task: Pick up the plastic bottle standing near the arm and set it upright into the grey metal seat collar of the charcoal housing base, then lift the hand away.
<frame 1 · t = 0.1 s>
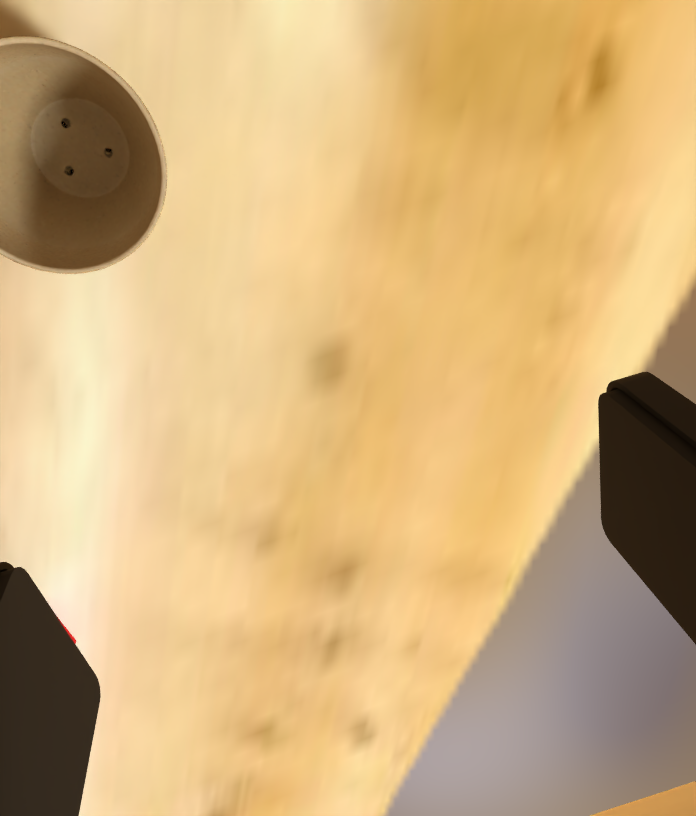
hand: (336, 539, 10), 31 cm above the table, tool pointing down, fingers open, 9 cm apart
flower pot: (82, 148, 35), on the table
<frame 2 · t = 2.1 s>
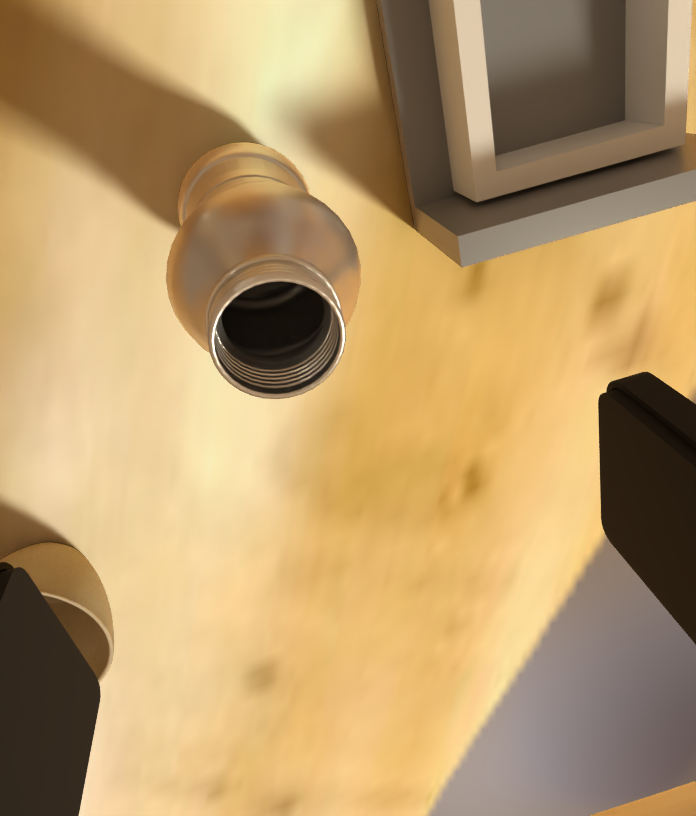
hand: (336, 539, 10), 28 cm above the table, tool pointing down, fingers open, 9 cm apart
flower pot: (50, 568, 43), on the table
housing: (534, 39, 33), on the table
plastic bottle: (244, 200, 34), on the table
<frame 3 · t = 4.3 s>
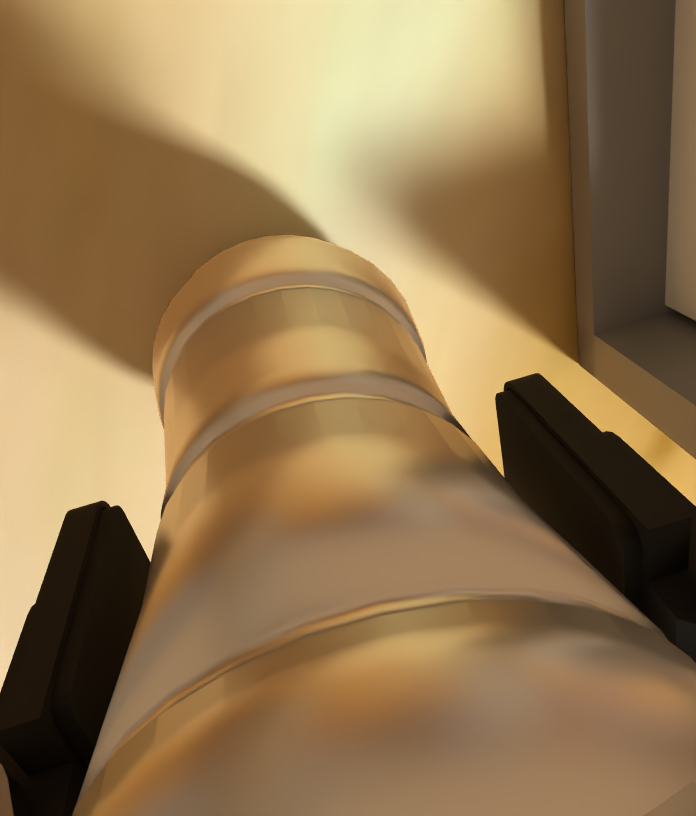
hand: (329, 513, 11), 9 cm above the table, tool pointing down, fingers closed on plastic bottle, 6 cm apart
plastic bottle: (281, 327, 18), on the table, touching gripper
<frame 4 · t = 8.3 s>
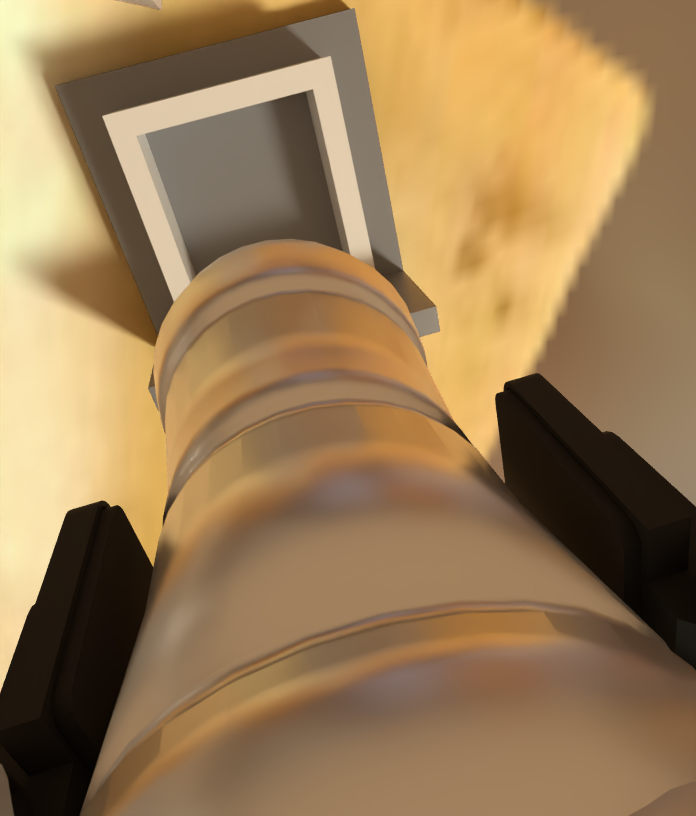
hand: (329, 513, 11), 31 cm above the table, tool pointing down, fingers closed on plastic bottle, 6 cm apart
housing: (251, 198, 37), on the table
plastic bottle: (282, 330, 18), point 22 cm above the table, touching gripper
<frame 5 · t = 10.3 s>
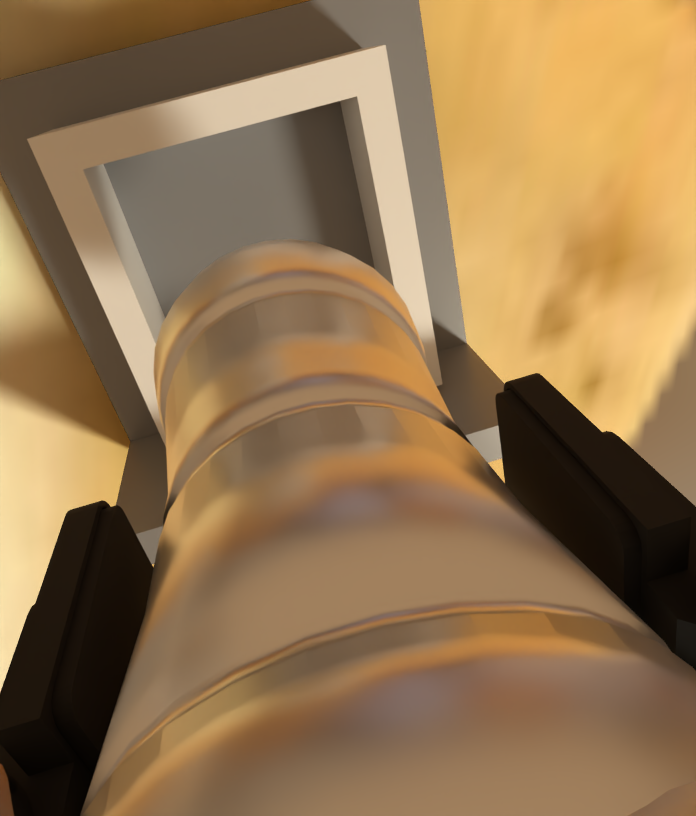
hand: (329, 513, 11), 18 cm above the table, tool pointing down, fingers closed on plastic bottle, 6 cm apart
housing: (258, 249, 26), on the table
plastic bottle: (282, 330, 18), point 9 cm above the table, touching gripper
when the fingers open (11 cm above the table, at t = 12.2 s): plastic bottle drops 2 cm, resting on housing.
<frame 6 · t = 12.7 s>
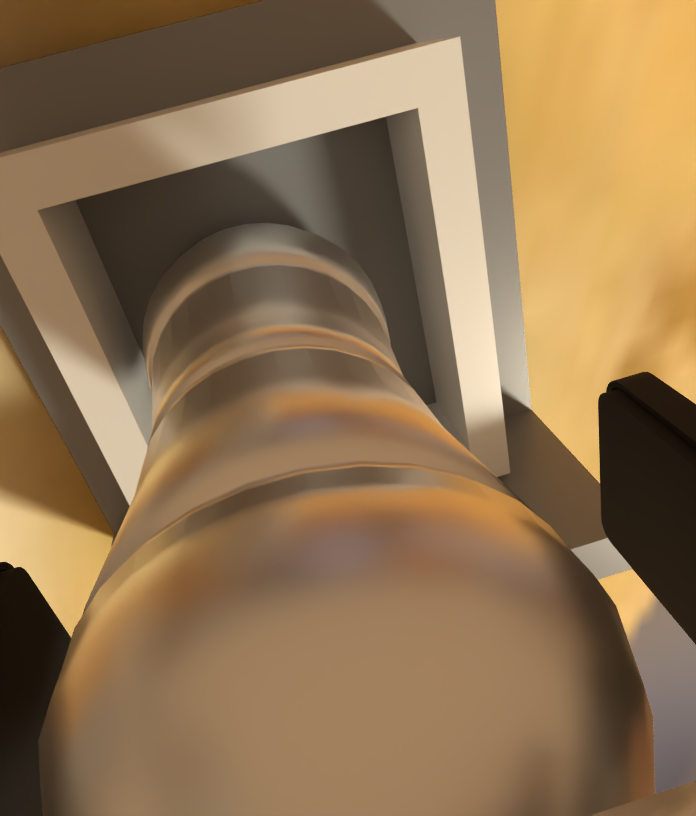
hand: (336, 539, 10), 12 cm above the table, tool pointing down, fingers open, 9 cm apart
housing: (275, 298, 21), on the table
plastic bottle: (262, 309, 20), point 1 cm above the table, touching housing
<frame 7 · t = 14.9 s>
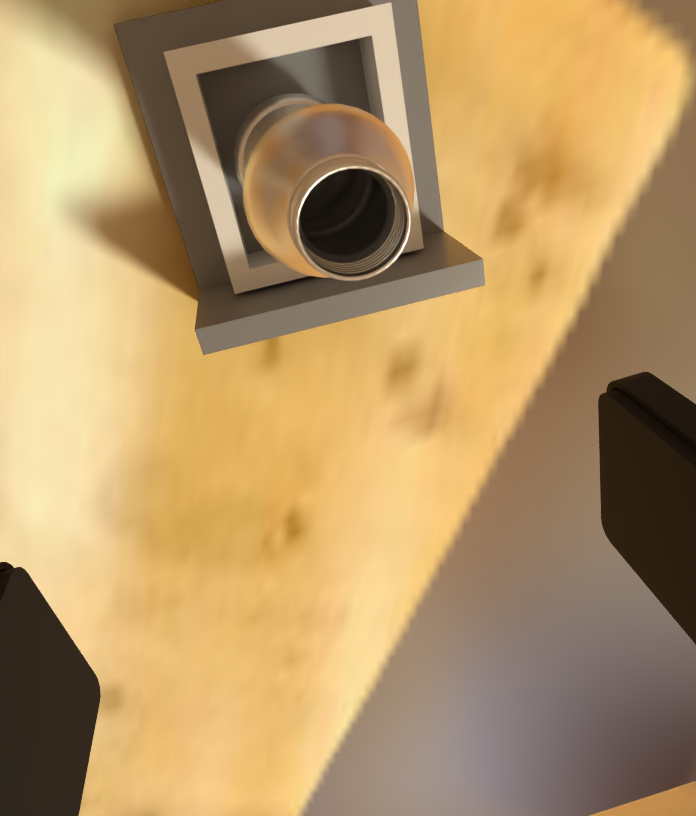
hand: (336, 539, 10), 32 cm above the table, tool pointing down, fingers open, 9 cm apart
housing: (298, 151, 37), on the table
plastic bottle: (291, 153, 37), point 1 cm above the table, touching housing
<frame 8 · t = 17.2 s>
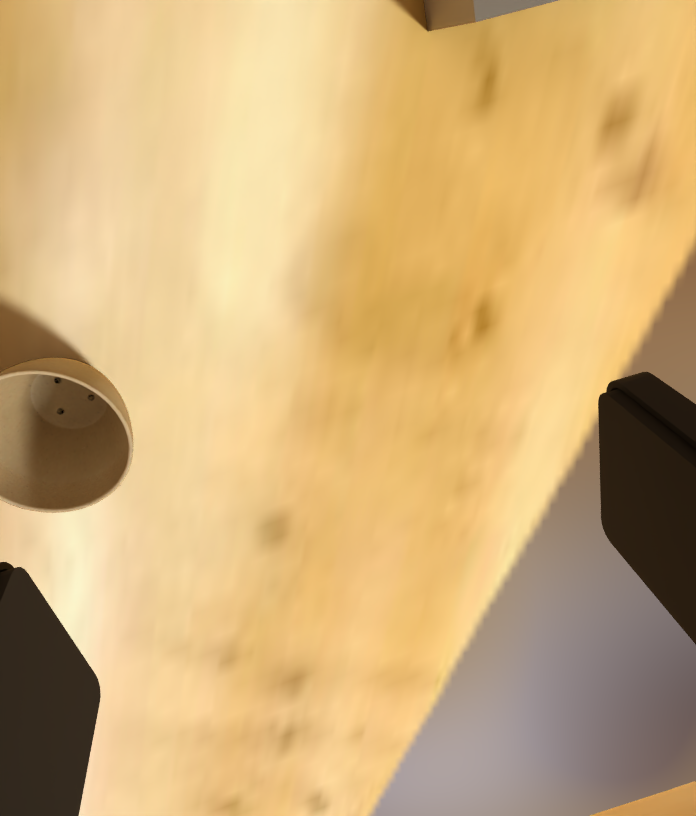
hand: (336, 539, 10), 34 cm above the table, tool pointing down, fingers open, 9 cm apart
flower pot: (70, 392, 44), on the table
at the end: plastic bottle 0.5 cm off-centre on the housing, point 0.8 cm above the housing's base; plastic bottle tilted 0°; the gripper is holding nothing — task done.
